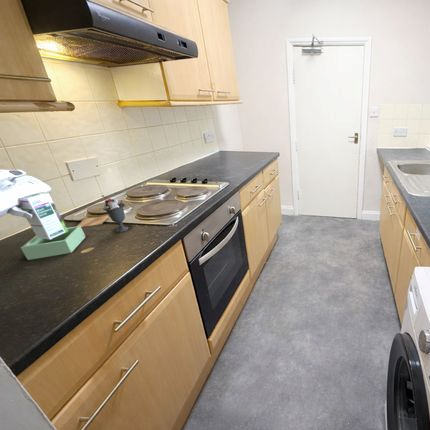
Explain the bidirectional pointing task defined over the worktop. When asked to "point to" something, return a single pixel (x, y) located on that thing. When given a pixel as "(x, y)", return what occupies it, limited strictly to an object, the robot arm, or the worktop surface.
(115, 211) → the sundae
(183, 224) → the worktop surface
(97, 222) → the wooden mat
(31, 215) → the robot arm
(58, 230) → the syrup box
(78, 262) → the worktop surface
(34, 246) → the green square tray
